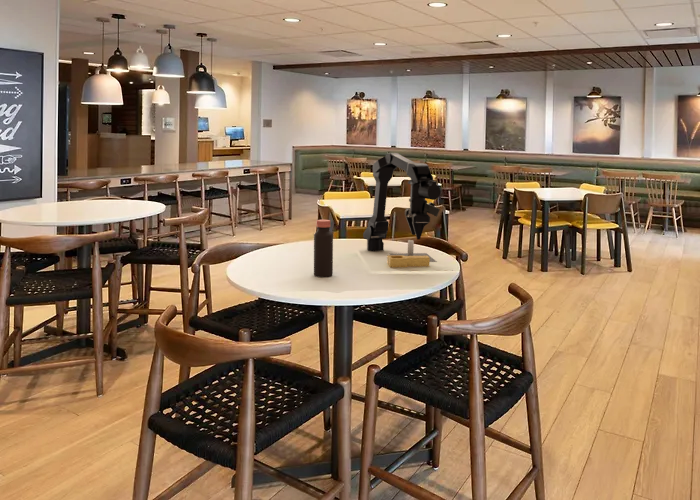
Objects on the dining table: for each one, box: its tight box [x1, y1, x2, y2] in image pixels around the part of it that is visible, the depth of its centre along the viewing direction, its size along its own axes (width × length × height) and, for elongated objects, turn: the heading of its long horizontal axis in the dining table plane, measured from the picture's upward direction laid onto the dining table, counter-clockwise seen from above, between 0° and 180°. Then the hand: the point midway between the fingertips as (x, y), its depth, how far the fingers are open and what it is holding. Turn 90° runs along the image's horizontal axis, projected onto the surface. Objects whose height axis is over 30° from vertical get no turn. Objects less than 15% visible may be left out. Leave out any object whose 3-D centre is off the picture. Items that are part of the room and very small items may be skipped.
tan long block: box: [386, 254, 431, 268], centre depth 235 cm, size 15×6×4 cm, turn 96°
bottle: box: [313, 219, 334, 278], centre depth 220 cm, size 7×7×20 cm
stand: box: [389, 239, 438, 263], centre depth 250 cm, size 16×18×8 cm
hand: (416, 237), depth 237 cm, fingers open, 9 cm apart
